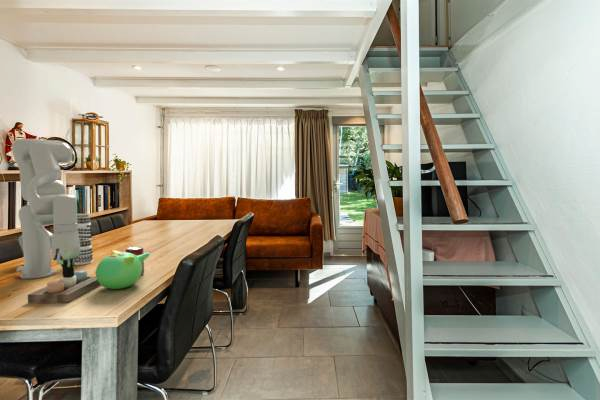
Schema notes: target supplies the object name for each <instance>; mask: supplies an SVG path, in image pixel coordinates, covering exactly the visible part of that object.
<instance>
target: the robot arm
mask: <svg viewBox="0 0 600 400" xmlns="http://www.w3.org/2000/svg"><path fill="white" fill-rule="evenodd" d="M11 150H12V156H13V158H14V161H15V163H16V164H17V167H18V170H19V179H20V180H19V181H20V192H21V196H22V199H23V200H24V201H27V203H28V204H27V205H23V206H21V207H20V209H19V211H18V218H19V223H20V227H21V235H23V250H22V252H23V251H24V252H23V265H19V266H18V267H17V268H16V271H17V272H21V274H20V275H19V277H20V279H23V280H32V279H42V278H46V277H50V276H53V275H55V274H56V269H52V261H56V263H55V264H56V265H60V267H61V268H62V277H64V278H68V277H73V276H74V272H75V267H74V266H75V260H76V259H77V258H78V255H79V254H80V240H79V234H78V220H77V214H78V204H77V201H78V200H77V198H76V196H75V195H71V194H67V193H66V192H67V191H66V186H65V185H64V182H63V181H62V180H58V179H60V178H61V177H62V173H63V172H62V169H61V167H60V164H68V163H70V162H71V161H72V159H73V152H72V148H71V147H70V146H69V144H67V143H65V142H62V141H59V140H49V139H47V140H46V139H39V138H38V139H36V138H18V139H15V140H14V141H13V143H12V145H11ZM50 225H51V226H52V225H53V233H52V234H53V237H52V248H51V251H50V236H49V233H48V232H47V231H48V230H47V229H46V228H45V229H46V230H47V231H46V230H45V229H43V228H42V226H44V227H45V226H50ZM41 277H42V278H41Z"/></svg>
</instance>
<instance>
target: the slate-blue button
mask: <svg viewBox="0 0 600 400" xmlns="http://www.w3.org/2000/svg"><path fill="white" fill-rule="evenodd" d="M74 275H76V282H83V281H85V280H87V276H88V270H86V269H82V270H80V269H79V270H76V271H75V270H74Z"/></svg>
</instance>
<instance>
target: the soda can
mask: <svg viewBox="0 0 600 400" xmlns="http://www.w3.org/2000/svg"><path fill="white" fill-rule="evenodd" d="M144 250H145V249H144V247H142V246H132V247H131V246H130V247H127V248H126V249H125V251H124V252H128V253H132V254H134V255H136V256H138V255H141V254H144V253H145V252H144ZM144 274H145V260H144V261H143V262H142V273H141V275H140V276H142V275H144Z"/></svg>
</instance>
